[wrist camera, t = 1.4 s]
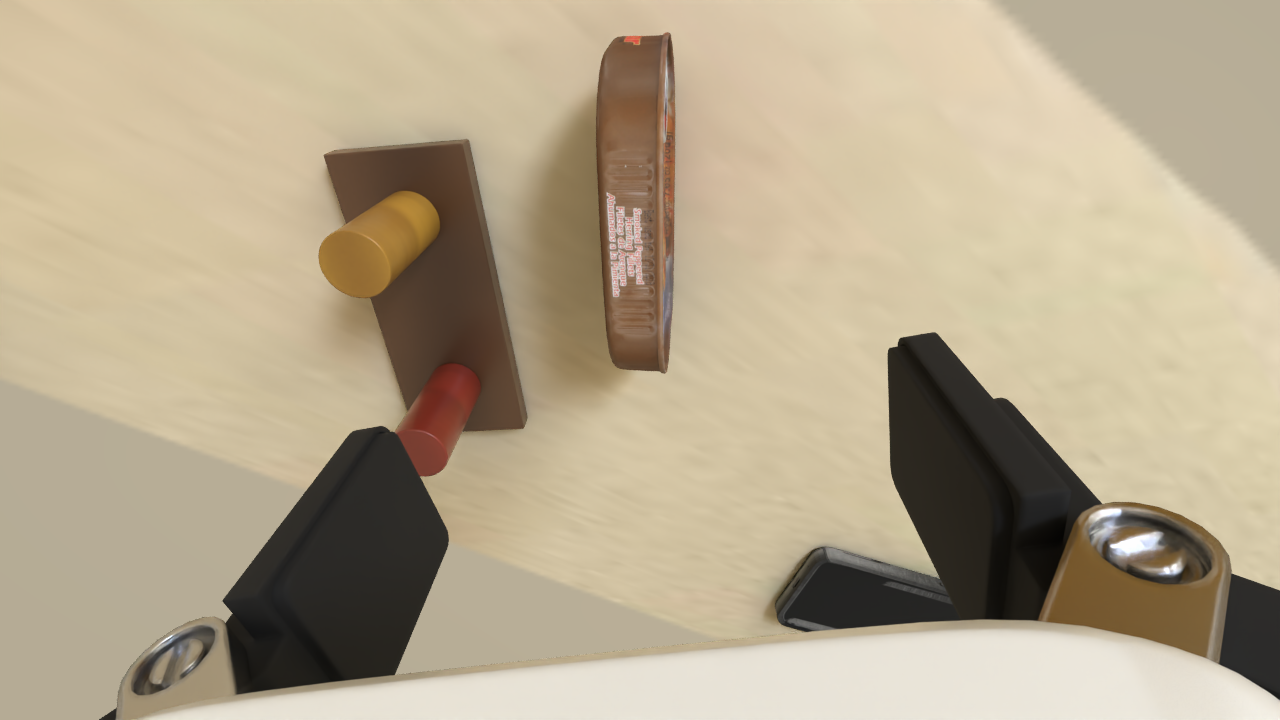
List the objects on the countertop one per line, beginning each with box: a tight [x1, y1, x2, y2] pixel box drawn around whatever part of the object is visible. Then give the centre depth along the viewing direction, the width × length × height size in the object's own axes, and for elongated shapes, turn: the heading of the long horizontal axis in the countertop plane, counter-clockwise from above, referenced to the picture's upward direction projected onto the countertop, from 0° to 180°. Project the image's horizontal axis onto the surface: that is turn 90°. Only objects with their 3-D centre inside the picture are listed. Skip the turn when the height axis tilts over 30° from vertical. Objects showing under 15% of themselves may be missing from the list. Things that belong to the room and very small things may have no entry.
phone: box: [775, 547, 961, 632], centre depth 45 cm, size 8×1×15 cm
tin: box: [596, 33, 675, 373], centre depth 27 cm, size 15×3×8 cm, turn 1°
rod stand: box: [319, 139, 527, 476], centre depth 31 cm, size 7×17×8 cm, turn 5°
